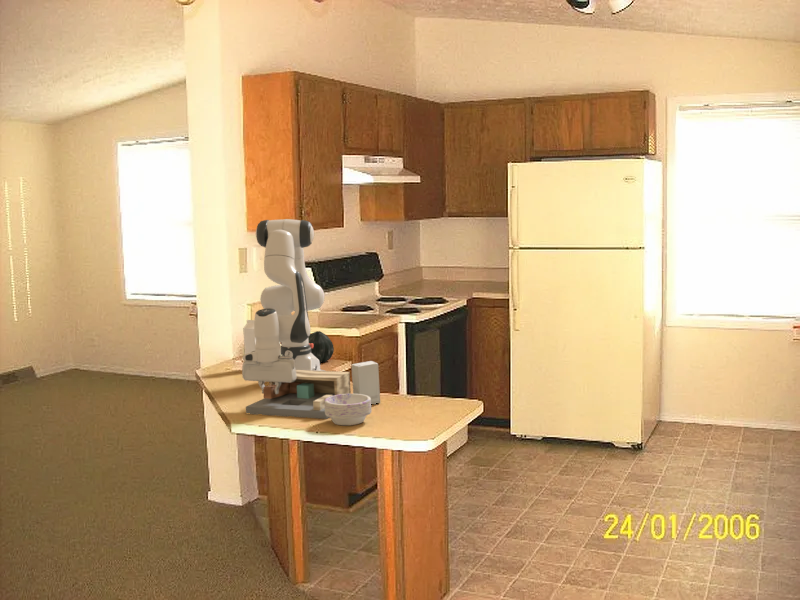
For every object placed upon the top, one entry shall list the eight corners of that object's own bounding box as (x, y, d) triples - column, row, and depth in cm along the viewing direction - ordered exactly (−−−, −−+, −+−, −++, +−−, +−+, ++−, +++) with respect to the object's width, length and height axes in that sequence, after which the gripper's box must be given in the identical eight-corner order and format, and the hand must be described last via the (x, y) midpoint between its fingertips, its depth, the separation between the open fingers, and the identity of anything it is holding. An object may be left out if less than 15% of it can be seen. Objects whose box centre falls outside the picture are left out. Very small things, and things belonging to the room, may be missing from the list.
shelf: (284, 390, 321) (283, 369, 320) (350, 393, 311) (349, 371, 310) (269, 397, 311) (268, 375, 310) (337, 400, 301) (336, 378, 300)
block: (303, 395, 312) (302, 382, 311) (314, 395, 310) (313, 383, 310) (297, 397, 308) (296, 385, 307) (308, 398, 306) (307, 386, 306)
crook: (285, 392, 318) (285, 381, 318) (305, 393, 315) (304, 382, 315) (263, 398, 303) (263, 386, 303) (283, 399, 300) (283, 387, 300)
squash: (307, 345, 401) (300, 325, 390) (338, 346, 398) (333, 326, 387) (301, 370, 392) (294, 350, 380) (333, 371, 389) (327, 351, 378)
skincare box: (373, 400, 309) (372, 360, 308) (381, 404, 304) (379, 362, 302) (352, 404, 306) (350, 363, 304) (359, 407, 300) (357, 365, 299)
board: (282, 396, 322) (282, 390, 321) (358, 400, 310) (358, 394, 310) (246, 413, 298) (245, 406, 297) (326, 418, 286) (326, 411, 286)
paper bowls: (358, 429, 271) (357, 405, 270) (316, 426, 278) (315, 402, 277) (380, 418, 285) (379, 394, 284) (339, 414, 291) (338, 391, 290)
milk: (256, 371, 372) (253, 321, 370) (245, 370, 375) (242, 320, 372) (265, 368, 378) (262, 319, 375) (253, 368, 380) (250, 318, 378)
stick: (326, 403, 298) (326, 394, 298) (333, 403, 297) (332, 394, 297) (313, 409, 289) (313, 401, 289) (320, 410, 288) (319, 401, 288)
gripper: (298, 354, 302) (300, 393, 304) (248, 352, 309) (250, 390, 311) (290, 357, 296) (292, 397, 298) (238, 355, 304) (241, 394, 305)
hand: (270, 393), depth 305 cm, fingers closed on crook, 3 cm apart
